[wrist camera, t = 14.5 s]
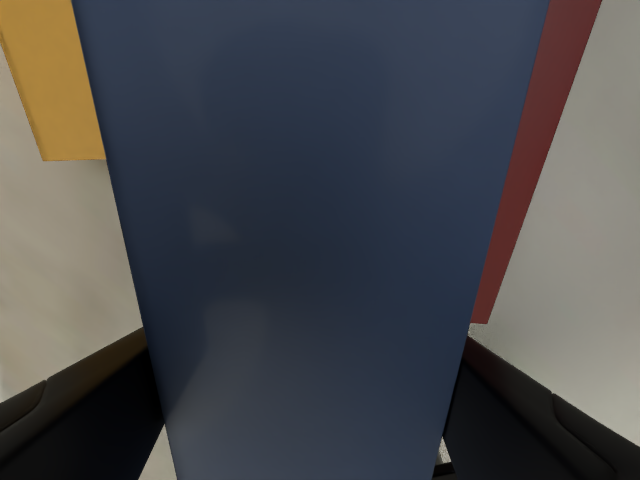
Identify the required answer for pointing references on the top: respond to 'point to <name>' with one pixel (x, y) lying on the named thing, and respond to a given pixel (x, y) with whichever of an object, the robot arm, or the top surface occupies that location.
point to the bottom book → (535, 134)
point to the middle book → (307, 215)
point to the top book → (51, 77)
